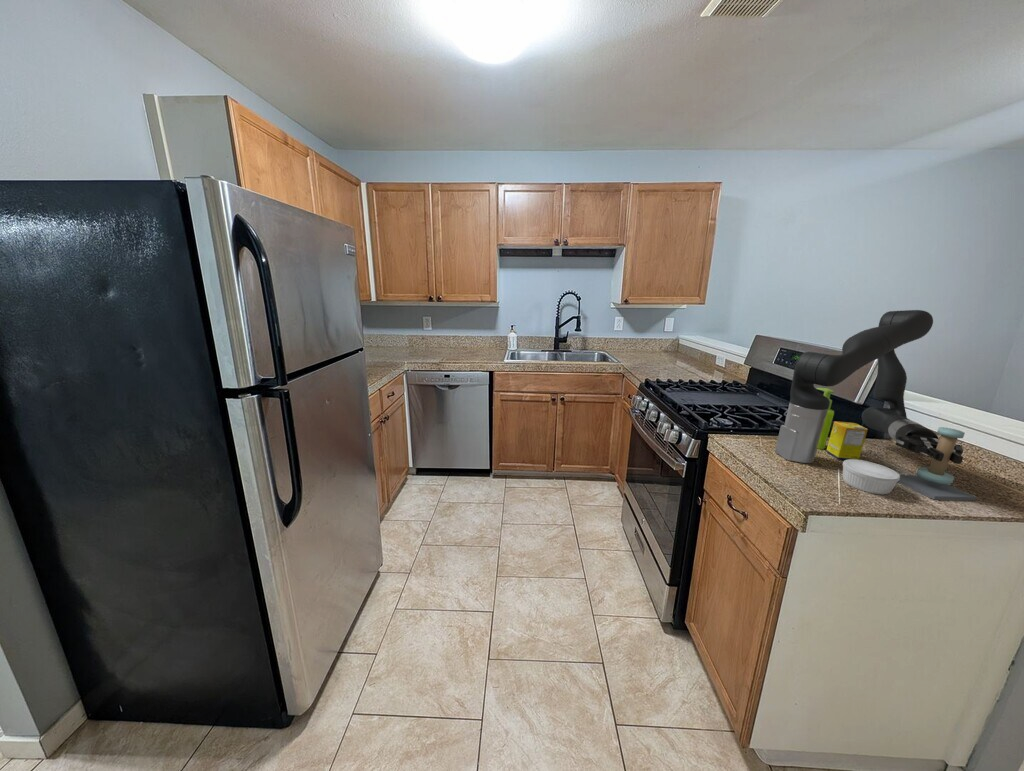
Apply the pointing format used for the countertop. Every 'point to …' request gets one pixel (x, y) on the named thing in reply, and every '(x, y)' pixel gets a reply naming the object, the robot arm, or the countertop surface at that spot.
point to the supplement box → (846, 440)
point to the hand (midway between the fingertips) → (950, 458)
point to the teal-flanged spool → (946, 447)
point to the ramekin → (869, 476)
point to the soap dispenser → (826, 420)
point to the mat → (934, 489)
